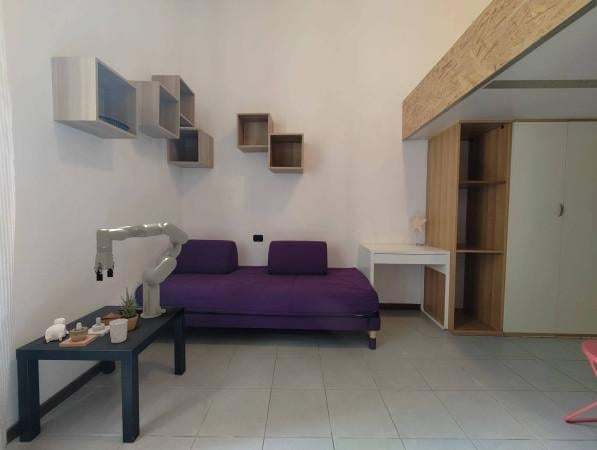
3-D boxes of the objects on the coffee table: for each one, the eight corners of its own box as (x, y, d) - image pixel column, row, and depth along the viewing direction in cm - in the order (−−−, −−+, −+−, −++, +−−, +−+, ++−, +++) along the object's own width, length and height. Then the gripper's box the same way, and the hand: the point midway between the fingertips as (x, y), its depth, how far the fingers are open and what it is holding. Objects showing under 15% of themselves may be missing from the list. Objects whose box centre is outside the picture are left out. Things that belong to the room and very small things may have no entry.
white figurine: (65, 344, 145) (71, 325, 157) (63, 332, 142) (70, 313, 154) (44, 348, 140) (51, 328, 152) (41, 335, 137) (50, 315, 149)
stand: (114, 328, 159) (114, 314, 159) (102, 336, 148) (102, 321, 148) (94, 328, 159) (94, 314, 158) (81, 336, 148) (80, 322, 147)
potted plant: (123, 326, 162) (122, 284, 162) (140, 324, 164) (140, 284, 164) (115, 333, 153) (114, 289, 152) (134, 331, 155) (133, 288, 154)
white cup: (108, 344, 138) (107, 325, 138) (111, 338, 146) (111, 319, 145) (126, 342, 142) (126, 323, 141) (128, 336, 149) (128, 317, 149)
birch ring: (90, 332, 145) (90, 326, 145) (81, 338, 138) (81, 332, 138) (76, 332, 144) (76, 326, 144) (66, 338, 138) (66, 332, 137)
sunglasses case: (109, 326, 161) (103, 317, 161) (98, 333, 160) (92, 323, 160) (124, 315, 179) (118, 307, 178) (114, 321, 178) (108, 313, 178)
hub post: (97, 337, 147) (97, 319, 146) (84, 346, 137) (84, 326, 136) (74, 338, 146) (73, 319, 146) (59, 346, 136) (58, 326, 136)
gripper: (107, 248, 168) (107, 275, 169) (87, 251, 151) (88, 282, 152) (119, 248, 169) (120, 275, 169) (101, 251, 152) (102, 282, 152)
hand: (105, 278), depth 161 cm, fingers open, 9 cm apart
